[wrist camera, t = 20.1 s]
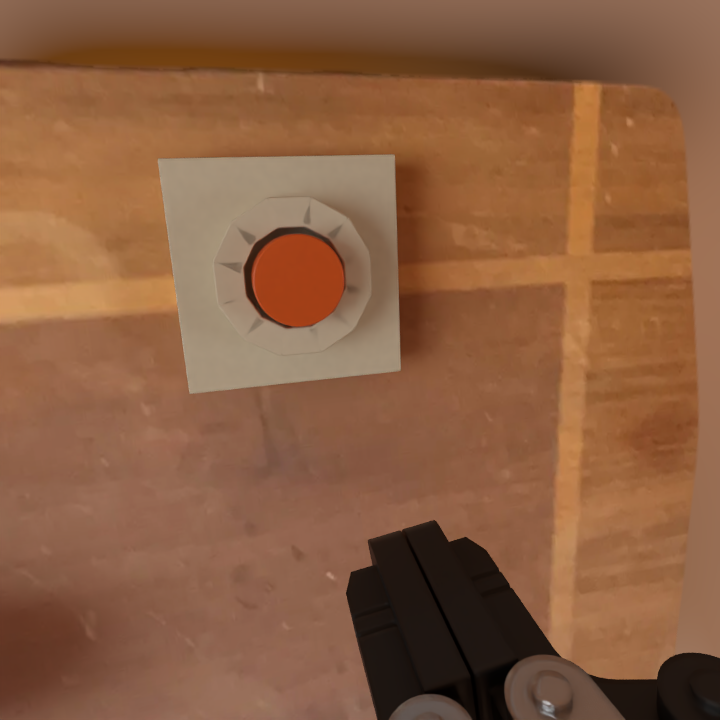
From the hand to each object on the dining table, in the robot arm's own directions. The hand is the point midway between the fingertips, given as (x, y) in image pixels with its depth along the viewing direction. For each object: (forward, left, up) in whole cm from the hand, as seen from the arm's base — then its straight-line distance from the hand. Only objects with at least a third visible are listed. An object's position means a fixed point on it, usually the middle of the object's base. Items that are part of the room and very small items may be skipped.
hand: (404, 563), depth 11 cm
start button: (+1, -5, -13) cm, 14 cm away
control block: (+1, -5, -16) cm, 17 cm away
